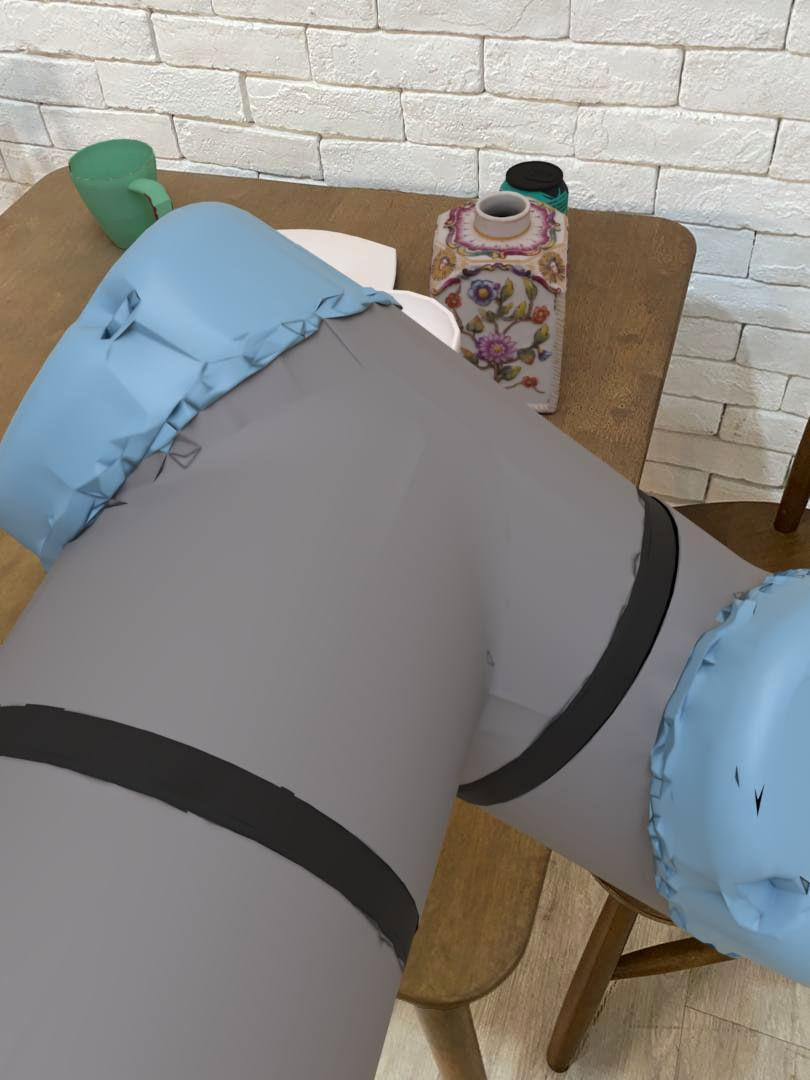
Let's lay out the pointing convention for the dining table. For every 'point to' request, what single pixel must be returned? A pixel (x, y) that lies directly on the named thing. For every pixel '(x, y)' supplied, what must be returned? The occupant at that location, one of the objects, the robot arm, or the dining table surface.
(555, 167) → the teal jar
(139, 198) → the mug
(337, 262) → the plate
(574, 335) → the dining table surface
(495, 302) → the decorative jar
